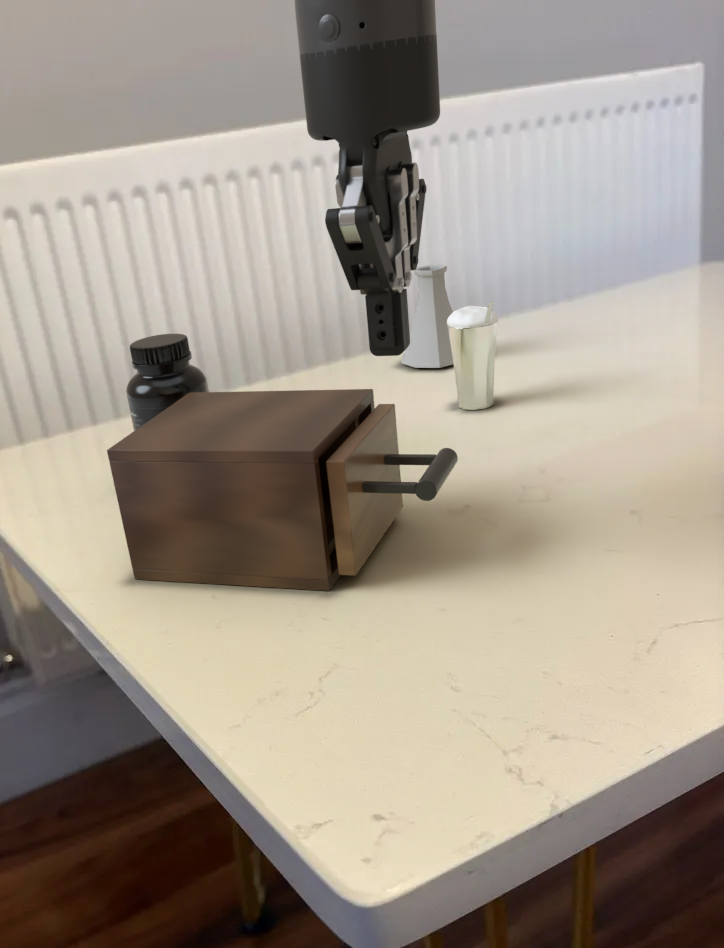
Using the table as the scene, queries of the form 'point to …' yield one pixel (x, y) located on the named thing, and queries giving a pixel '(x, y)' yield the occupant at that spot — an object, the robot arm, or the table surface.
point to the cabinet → (233, 487)
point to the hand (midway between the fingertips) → (390, 352)
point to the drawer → (371, 485)
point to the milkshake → (474, 354)
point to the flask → (430, 322)
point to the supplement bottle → (161, 376)
